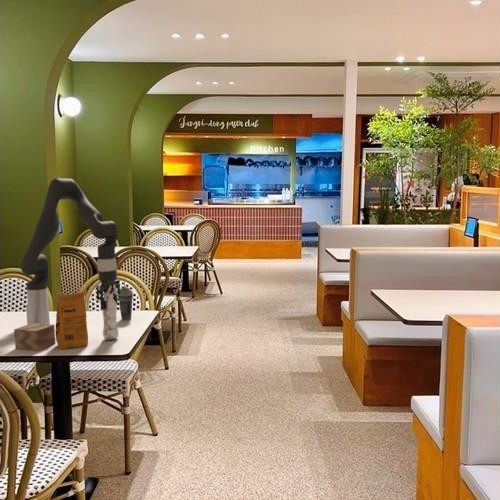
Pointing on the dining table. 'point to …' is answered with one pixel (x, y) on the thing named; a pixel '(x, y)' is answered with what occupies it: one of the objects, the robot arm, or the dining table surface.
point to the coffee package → (71, 321)
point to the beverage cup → (125, 302)
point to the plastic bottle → (110, 319)
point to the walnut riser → (34, 336)
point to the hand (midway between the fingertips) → (109, 307)
